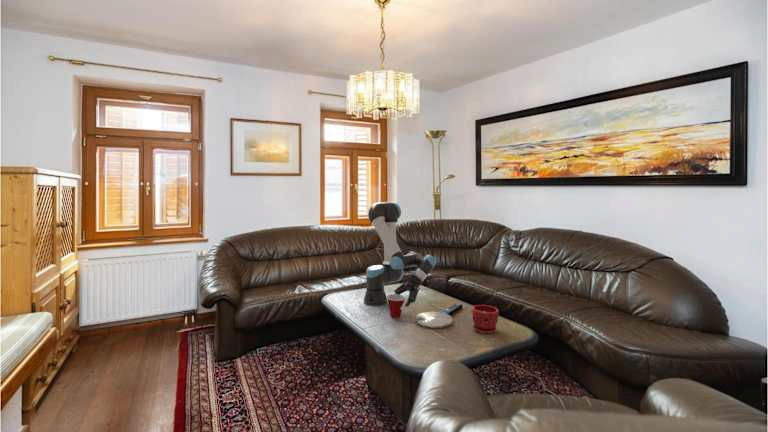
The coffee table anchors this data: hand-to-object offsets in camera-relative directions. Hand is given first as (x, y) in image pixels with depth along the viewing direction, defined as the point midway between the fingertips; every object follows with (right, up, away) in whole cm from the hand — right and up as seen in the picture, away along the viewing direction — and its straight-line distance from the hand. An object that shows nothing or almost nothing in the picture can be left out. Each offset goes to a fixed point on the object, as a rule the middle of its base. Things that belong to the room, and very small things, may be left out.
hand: (395, 306), depth 213 cm
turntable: (+21, -7, -8) cm, 23 cm away
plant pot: (+46, -8, -20) cm, 51 cm away
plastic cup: (0, -6, +1) cm, 6 cm away
